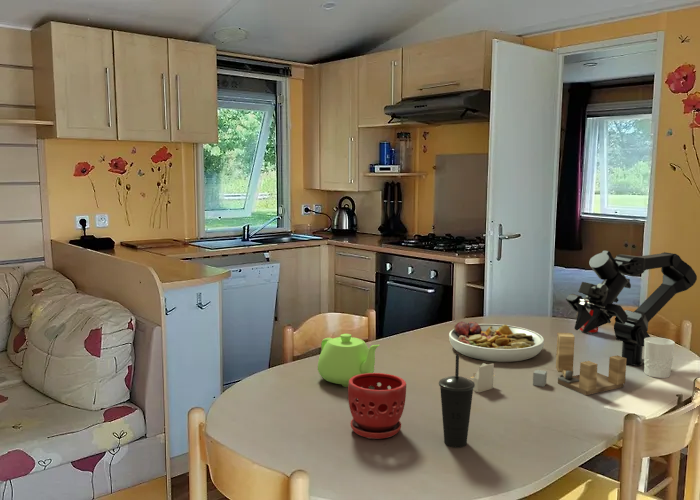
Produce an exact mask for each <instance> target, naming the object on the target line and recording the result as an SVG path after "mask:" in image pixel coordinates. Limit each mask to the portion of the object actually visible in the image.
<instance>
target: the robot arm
mask: <svg viewBox="0 0 700 500" xmlns="http://www.w3.org/2000/svg"><path fill="white" fill-rule="evenodd" d="M588 263H589V266H590V268H591V269H592V271H594V273H595V274H596V276H597V277H598V278H599V279H600V280H602V282H601V283H598V284H593V283H590V282H586V281H581V283H580V286H579V288H578V293H580V294H583V295H584V296H585V297H584V298H586V299H587V300H589V302H587V301H585V300H584V299H583V296H582V295H579V294H575V293H569V294H568V295H567V297H566V298H565V301H566V302H567V303H568V305H569V306H570V307H571V309H573V311H575V312H577V316H576V319H575V320H576V321H575V324H574V330H575V331H579V330H580V328H581V327H582V326H583V325H584V324H585V323H586V322H587V321H588V323H587V324H586V326H585V327H584V329H583V331H582V333H584V334H588V333H587V332H589V331H591V330H593V329H595V328H597V327H598V328H600V327H601V326H604V325H606V324H611V322H612V321H611V319H613V318H614V321H615V322H614V324H613V329H614V330H613V331H614V334H615V339H616V341H621V342H622V343H621V344H622V346H621V357H624V358H627V360H626V365H631V366H637V367H641V366H642V365H643V364H644V358H643V352H644V339H645V338H648V337H651V335H650V334H649V333H648V331H649V322H650V321H651V320H652V319H653V318H654V317H655V316H656V315H657V314H658V313H659V312H660V311H661V310H662V309H663V308H664V307H665V306H666V304H668V302H669V301H671V300H672V299H673V298H674V296H676V295H677V294H679V293H683V292H686V291H688V290H689V289H691V288H692V287H693V286H694V285H695V283H696V282H697V278H698V277H697V273H696V272H695V270H694V269H693V268H692V266H691V265H689V264H688V263H687V262H685V261H684V260H683V259H682V258H681V256H680V255H679V254H677V253H673V252H665V251H664V252H661V253H655V254H654V253H653V254H647V255H638V256H636V255H629V254H621V253H619V254H617V255H616V256H615V257H613V255H612V253H611V252H610V251H609V250H602V252H600V253H596V254H595V255H593V256H592V257H590V259H589V262H588ZM654 269H660V272H661V273H662V283H661V284H660V285H659V286H658V287H657V288H656V289H655V290H654V291H653V292H652V293H651V294H650V295H649V296H648V297H647V298H646V299H645V300H644V301H643V302H642V303H641V304H640V305H639V306H638V307H637V308H636V309H635V310H634V311H631V310H628V309H625V310H624V309H623V307H622V305H620V304H615V303H618V302H619V297H618V296H619V295H620V294H621V292H622V291H623V290H624V288H627V289H631V287H632V284H631V279H630V278H627V277H626V276H633V277H637V276H640V275H641V274H644V273H645V271H647V270H654ZM590 310H593V315H592V316H591V315H590V313H589V312H590Z"/></svg>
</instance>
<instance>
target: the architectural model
mask: <svg viewBox="0 0 700 500" xmlns="http://www.w3.org/2000/svg"><path fill="white" fill-rule="evenodd" d="M494 366H495V363H489V364H486V363H484V362H483V363H482V364H481V365H480V366H479V367H478V370H477V371H476V373H474V375H473V376H469V380H471V381H473V382H474V384H475V387H474V388H473V392H476V393H481V392H485V391H488V390H493V389H494V378H496V375H495V374H494V372H495V371H494V370H495V369H494V368H495V367H494Z"/></svg>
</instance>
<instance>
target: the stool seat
mask: <svg viewBox="0 0 700 500" xmlns="http://www.w3.org/2000/svg"><path fill="white" fill-rule="evenodd" d="M626 360H627V358H624V357H622V355H617V354H616V355H612V356H610V357H609V361H608V376H607V375H604V374H602V373H599V372H598V363H595V362H592V361H589V360H587V361H581V362H579V363H580V364H579V374H577V375H573V379H571V380H568V379H565V377H564V376H561V377H558V378H557V384H559V385H561V386H563V387H566V388H568V389H570V390H572V391H575V392H578V393H579V394H582V395H584V396H589V395H594V394H597V393H603V392H606V391H611V390H616V389H620V388H623V387H625V386H624V384H626V375H627V374H626V373H627V372H626V371H627V364H626Z"/></svg>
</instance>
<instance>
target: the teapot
mask: <svg viewBox="0 0 700 500" xmlns="http://www.w3.org/2000/svg"><path fill="white" fill-rule="evenodd" d="M320 345H321V346H320V347H321V352H320V354H319V357H318V361H317V371H318V373H319V375H320V376H321V378H322V379H323V380H325V381H326V382H329V383H333V384H338V385H341V387H344V388H348V384H349V380H350V378H352V377H353V376H356V375H359V374H365V373H375V372H374V371H375V364H376V363H375V362H376V358H375V357H376V356H375V354H376V350H377V348H378V347H380V346H381V344H373V345H371V346H370V347H368V345H367V343H366V342H365V341H364V340H363V339H361V338H357V337H354V336H353V337H352V334H351V333H341V334H340V335H339V336H337V337H334V338H332V337H326V338H323V339H322V340H321V343H320Z"/></svg>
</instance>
